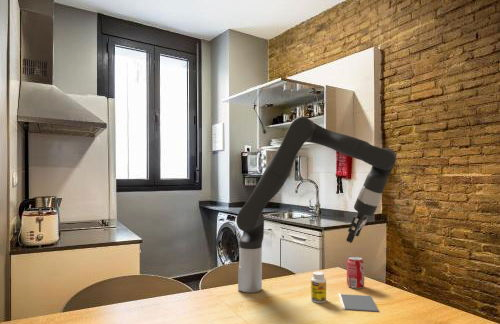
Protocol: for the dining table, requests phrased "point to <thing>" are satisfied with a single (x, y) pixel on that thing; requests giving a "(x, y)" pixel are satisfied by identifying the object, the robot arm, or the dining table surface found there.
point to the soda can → (355, 272)
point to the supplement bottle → (318, 287)
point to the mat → (357, 302)
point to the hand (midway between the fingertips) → (352, 238)
